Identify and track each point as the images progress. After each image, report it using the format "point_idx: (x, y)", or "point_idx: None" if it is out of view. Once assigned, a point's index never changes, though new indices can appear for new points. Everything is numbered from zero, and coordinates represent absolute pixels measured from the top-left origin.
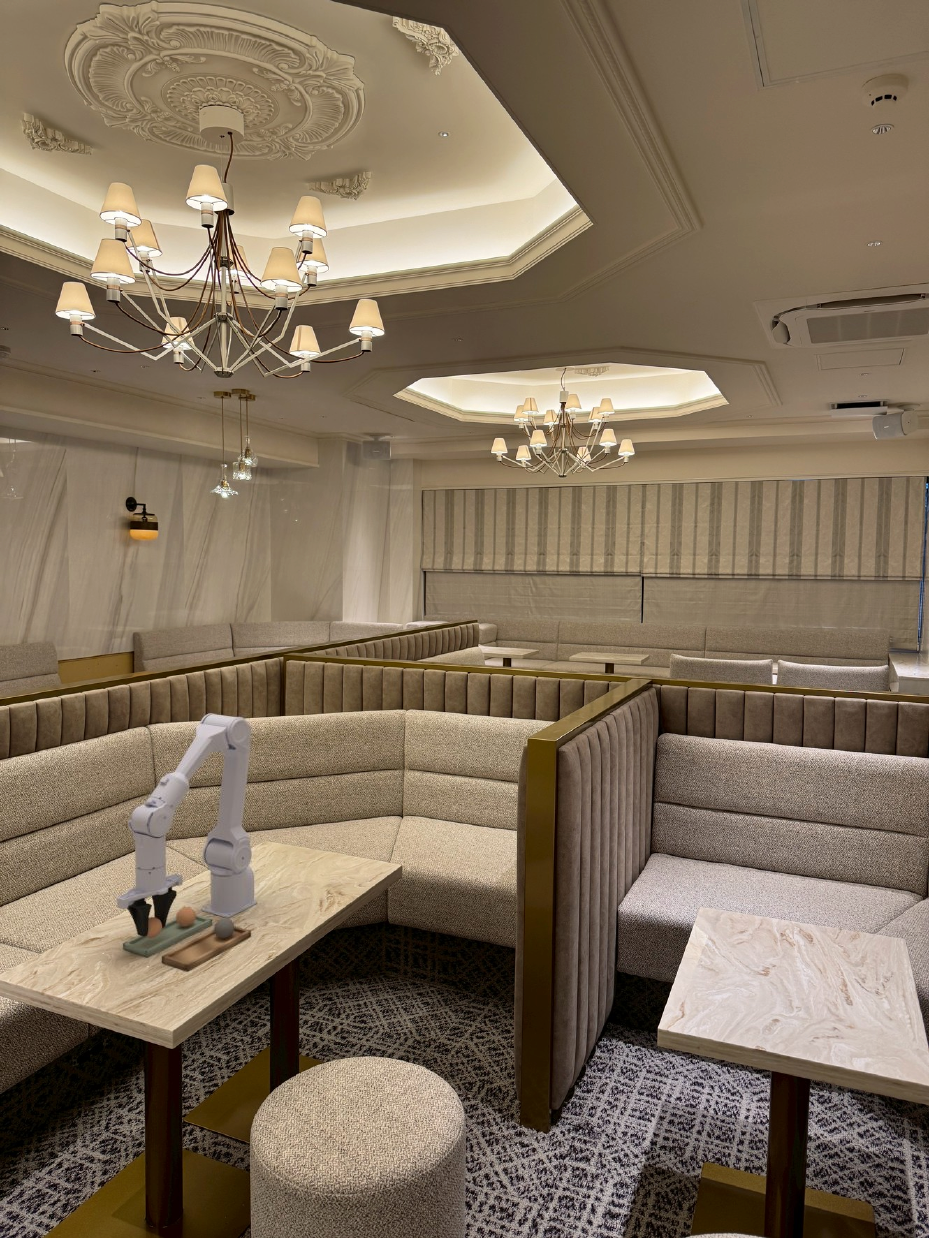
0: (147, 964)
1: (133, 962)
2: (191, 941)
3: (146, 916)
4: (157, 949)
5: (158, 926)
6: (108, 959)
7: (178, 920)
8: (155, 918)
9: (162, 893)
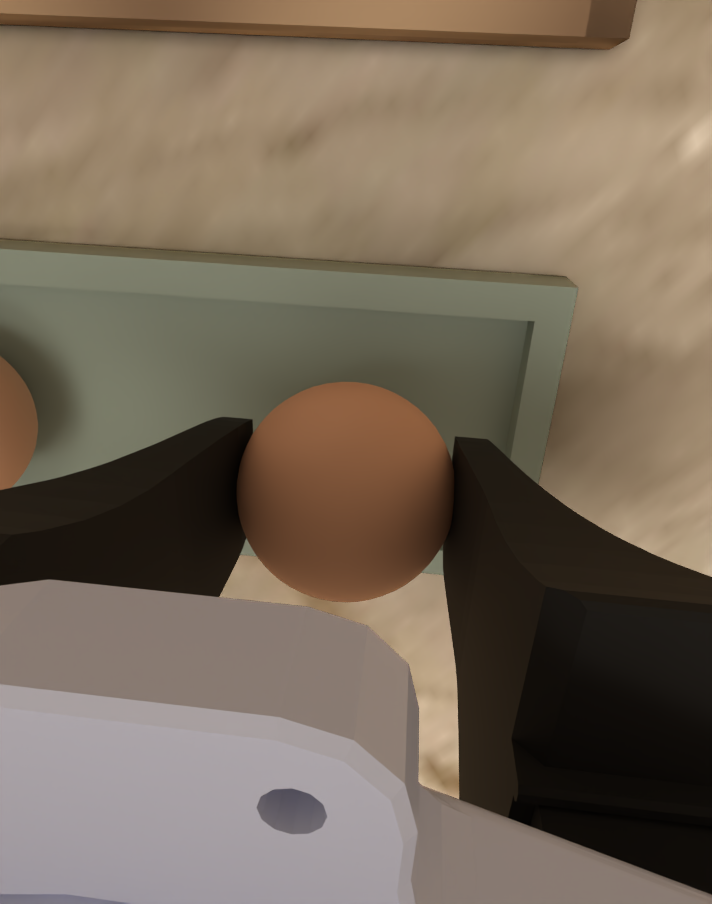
0: (665, 178)
1: (665, 331)
2: (185, 12)
3: (553, 531)
4: (445, 274)
5: (338, 407)
6: (675, 538)
7: (23, 433)
8: (304, 509)
9: (314, 632)
